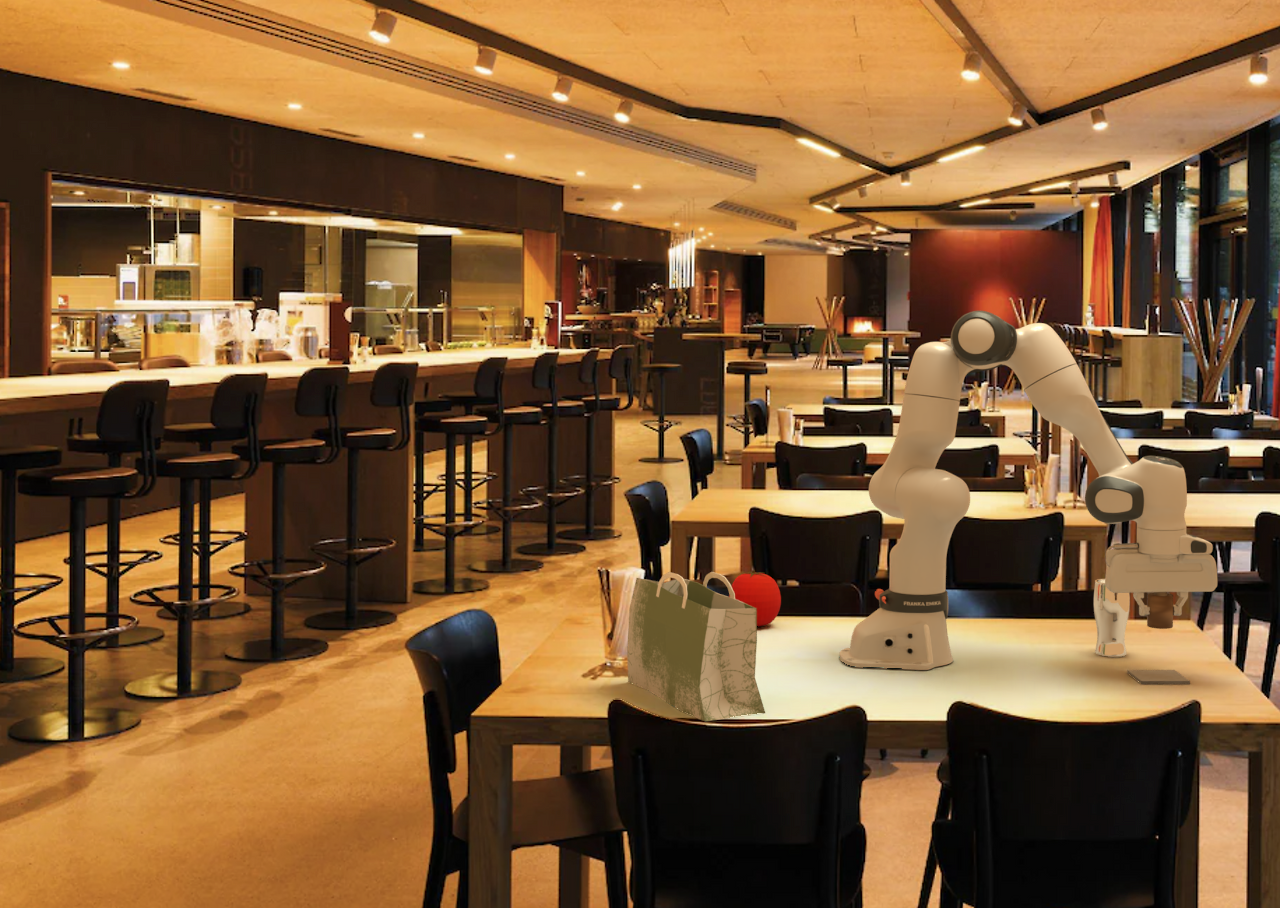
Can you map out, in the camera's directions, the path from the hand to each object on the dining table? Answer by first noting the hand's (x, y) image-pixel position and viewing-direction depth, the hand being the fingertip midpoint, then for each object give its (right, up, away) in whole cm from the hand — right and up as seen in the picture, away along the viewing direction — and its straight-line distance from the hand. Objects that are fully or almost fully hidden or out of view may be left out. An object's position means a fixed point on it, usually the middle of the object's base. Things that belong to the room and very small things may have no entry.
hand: (1160, 615), depth 285 cm
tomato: (-73, -8, +53) cm, 90 cm away
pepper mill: (0, -2, 0) cm, 2 cm away
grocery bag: (-88, -14, -10) cm, 90 cm away
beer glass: (-3, -11, +22) cm, 24 cm away
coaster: (0, -12, +1) cm, 12 cm away
